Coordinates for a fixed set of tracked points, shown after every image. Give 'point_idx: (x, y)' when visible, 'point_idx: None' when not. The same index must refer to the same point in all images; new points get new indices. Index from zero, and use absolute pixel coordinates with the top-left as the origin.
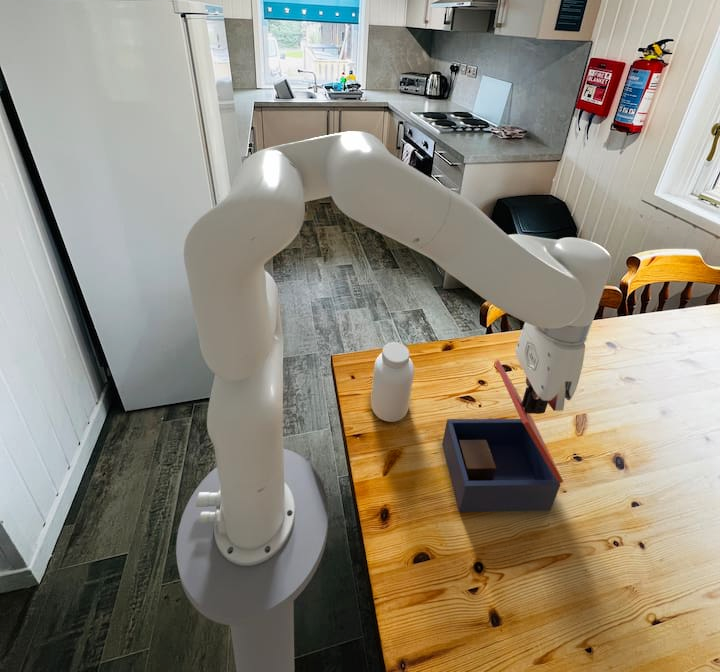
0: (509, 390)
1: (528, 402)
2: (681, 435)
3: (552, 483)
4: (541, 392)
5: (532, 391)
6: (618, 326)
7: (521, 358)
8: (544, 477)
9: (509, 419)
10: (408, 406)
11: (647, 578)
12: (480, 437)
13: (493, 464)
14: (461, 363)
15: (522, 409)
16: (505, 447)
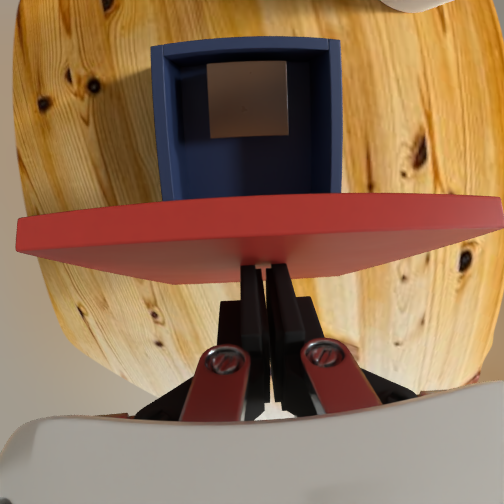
0: (265, 207)
1: (242, 300)
2: None
3: None
4: (12, 466)
5: (277, 351)
6: None
7: (460, 452)
8: None
9: None
10: (393, 2)
11: (121, 329)
12: (316, 136)
13: (219, 133)
14: (489, 174)
15: (100, 248)
16: (304, 193)
